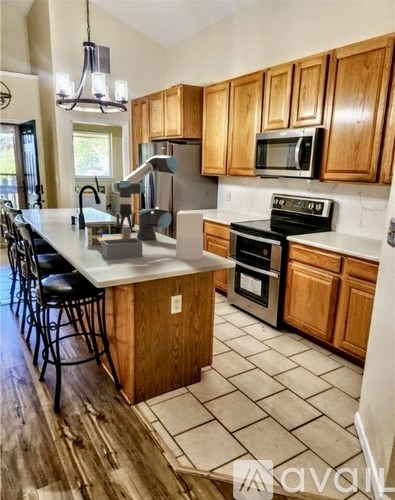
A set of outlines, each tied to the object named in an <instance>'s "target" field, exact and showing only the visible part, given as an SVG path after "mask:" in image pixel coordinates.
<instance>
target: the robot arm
mask: <svg viewBox="0 0 395 500" xmlns="http://www.w3.org/2000/svg"><path fill="white" fill-rule="evenodd" d="M178 169H179V162H178V160H177V157H175V156H174V155H170V154H169V155H155V156H151V157H150V158H148V159H147V160H146V161H144V162H143V163H142V165H141V166H140V167H138V168H137V169H136V170H134V171H133V172H131V173H130V174H129V175H127V176H126V177H125V178H123V179H120V180H119V181H115V182H114V183H113V190H114V192H116V193H119V212H116V213H115V218H116V228H117V229H119V234H120V236H121V238H122V239H123V229H122V227H123V226H124V222H125V219H126V218H127V222H128V226H129V227H130V238H131V237H132V236H131V235H132V233H133V228H135V227H136V215H137V213H135V212H134V211H133V210H132V195H140V194H142V193H144V192H145V185H144V184H143V183H142V182H140V181H141V180H142V179H144V178H145V177H146V176H147V175H149V174H150V175H151V174H152V173H155V172H158V175H160V176H159V181H158V182H159V183H158V191H157V199H156V206H155V207H154V208H148V209H141V210H139V212H138V230H137V234H136V239H138V240H140V241H152V240H156V239H157V235H156V231H155V228H161V229H164V228H168V227H169V226H170V224H171V222H172V214H171V213H170V210H169V208H168V206H169V202H170V201H169V199H170V193H171V192H170V191H171V183H172V177H173V176H174V175H175V173H176V172H177V171H178ZM120 216H121V217H120Z"/></svg>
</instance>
